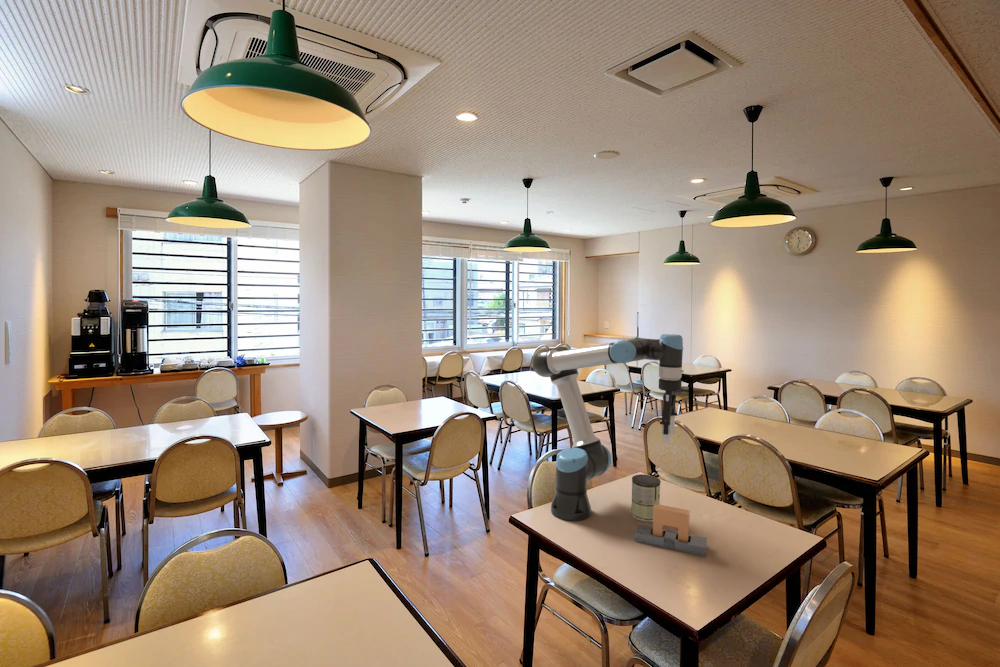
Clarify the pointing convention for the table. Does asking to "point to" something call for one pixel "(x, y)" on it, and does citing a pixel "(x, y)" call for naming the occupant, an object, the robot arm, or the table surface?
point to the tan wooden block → (671, 520)
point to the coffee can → (644, 496)
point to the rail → (671, 540)
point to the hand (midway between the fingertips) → (668, 438)
